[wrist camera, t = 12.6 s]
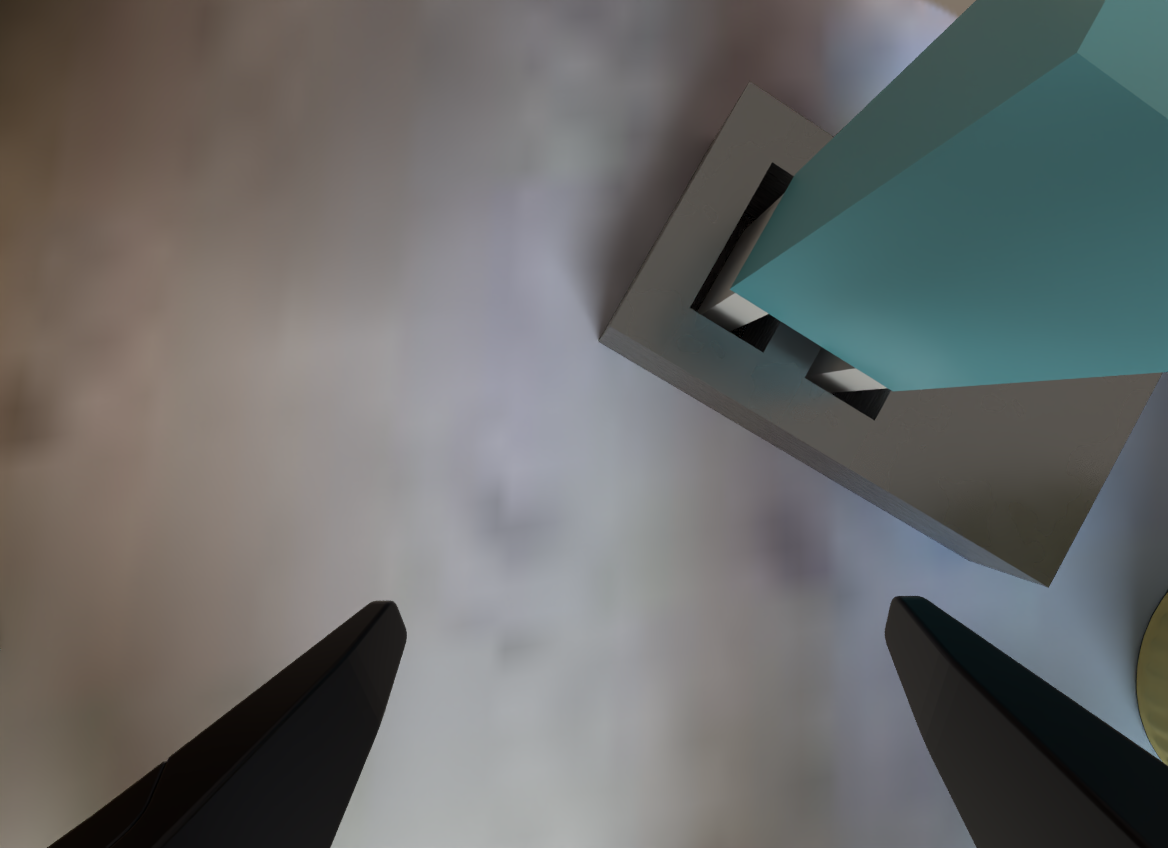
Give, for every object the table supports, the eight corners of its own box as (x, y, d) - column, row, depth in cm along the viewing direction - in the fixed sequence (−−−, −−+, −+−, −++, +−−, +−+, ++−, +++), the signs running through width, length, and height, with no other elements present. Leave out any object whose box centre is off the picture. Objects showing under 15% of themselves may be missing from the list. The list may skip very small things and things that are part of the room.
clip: (816, 396, 18) (1483, 349, 5) (687, 317, 18) (1075, 52, 5) (865, 309, 18) (1635, 53, 5) (738, 228, 18) (1253, -267, 5)
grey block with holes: (968, 560, 19) (1048, 587, 16) (598, 341, 17) (610, 326, 14) (1071, 369, 19) (1168, 360, 16) (714, 137, 18) (749, 81, 15)
